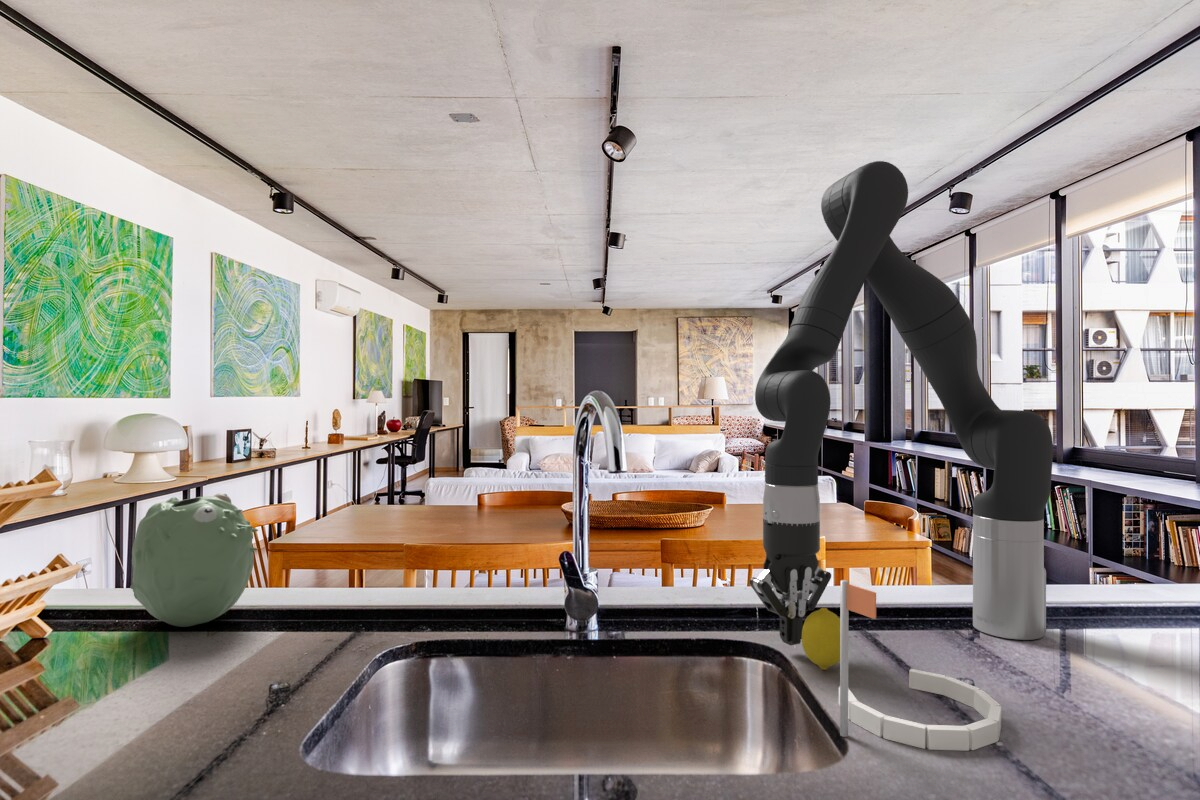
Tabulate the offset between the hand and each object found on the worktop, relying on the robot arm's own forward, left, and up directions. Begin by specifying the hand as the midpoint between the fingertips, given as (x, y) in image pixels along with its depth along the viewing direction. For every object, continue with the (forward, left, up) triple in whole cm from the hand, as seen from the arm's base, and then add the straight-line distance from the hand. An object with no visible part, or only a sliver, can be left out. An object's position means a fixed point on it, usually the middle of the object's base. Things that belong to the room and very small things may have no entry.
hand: (790, 642), depth 95 cm
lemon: (0, +6, -2) cm, 6 cm away
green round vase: (+74, -51, -2) cm, 90 cm away
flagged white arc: (+2, +21, -1) cm, 21 cm away
